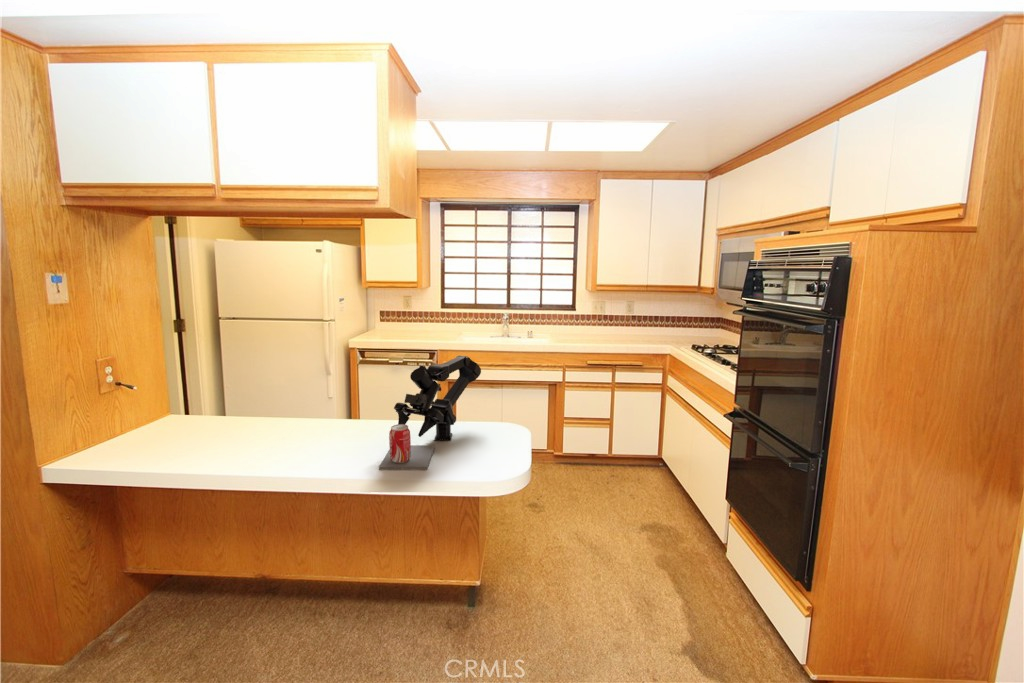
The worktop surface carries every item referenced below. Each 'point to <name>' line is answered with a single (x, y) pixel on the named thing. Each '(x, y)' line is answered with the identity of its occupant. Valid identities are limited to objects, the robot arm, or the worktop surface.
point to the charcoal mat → (411, 459)
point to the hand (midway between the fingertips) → (408, 434)
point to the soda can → (400, 443)
